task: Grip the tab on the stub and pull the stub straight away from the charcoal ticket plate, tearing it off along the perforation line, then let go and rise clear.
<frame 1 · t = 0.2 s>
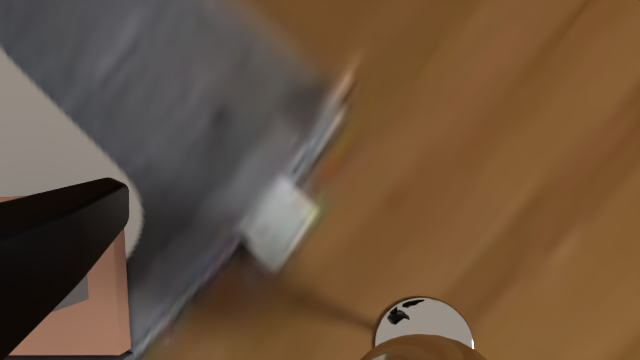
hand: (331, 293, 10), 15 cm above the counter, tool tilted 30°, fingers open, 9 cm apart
stub: (19, 280, 25), point 3 cm above the counter, slide at 0.0 cm
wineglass: (423, 344, 24), on the counter
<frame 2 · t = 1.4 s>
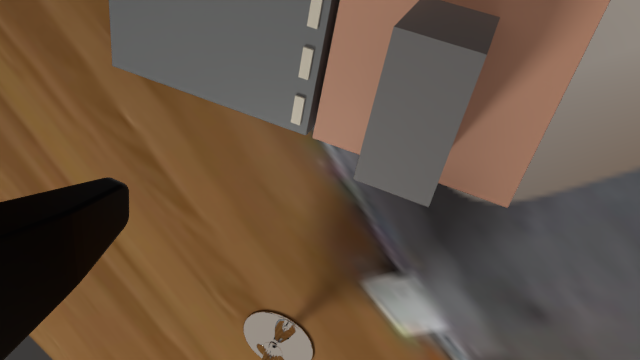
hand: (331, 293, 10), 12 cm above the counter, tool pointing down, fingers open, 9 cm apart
stub: (429, 93, 17), point 3 cm above the counter, slide at 0.0 cm
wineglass: (279, 337, 31), on the counter
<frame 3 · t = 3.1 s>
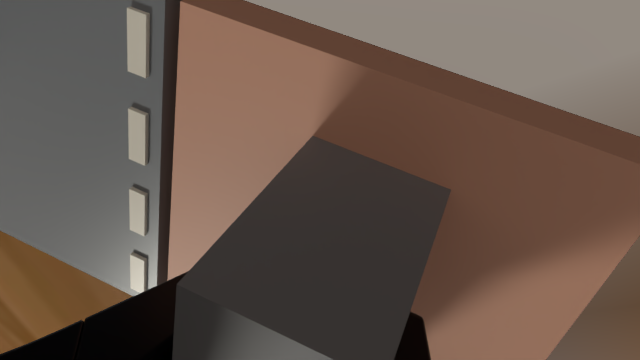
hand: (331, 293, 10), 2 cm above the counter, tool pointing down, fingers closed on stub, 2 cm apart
stub: (317, 319, 9), point 3 cm above the counter, slide at 0.0 cm, touching gripper
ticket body: (28, 89, 13), on the counter
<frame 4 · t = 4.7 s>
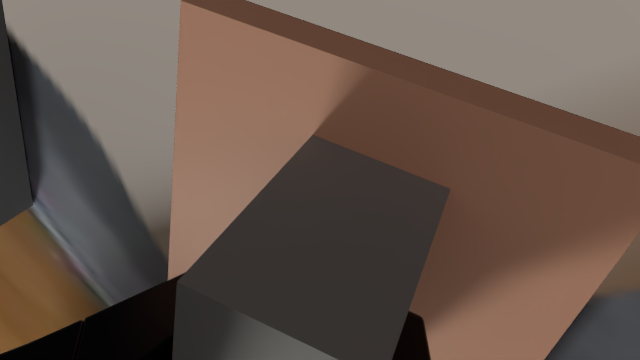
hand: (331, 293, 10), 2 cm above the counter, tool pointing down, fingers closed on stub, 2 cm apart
stub: (317, 317, 9), point 3 cm above the counter, slide at 5.2 cm, touching gripper
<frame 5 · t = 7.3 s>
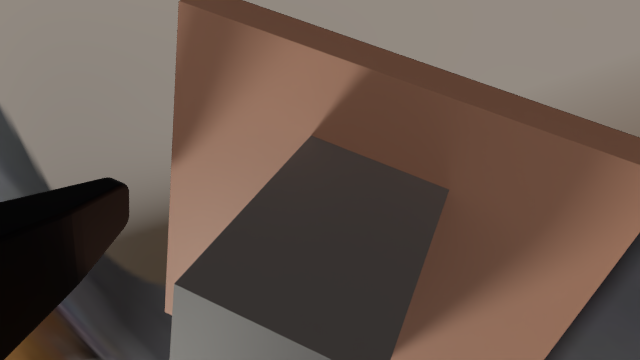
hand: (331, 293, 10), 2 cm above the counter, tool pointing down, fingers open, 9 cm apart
stub: (315, 318, 9), point 3 cm above the counter, slide at 8.4 cm
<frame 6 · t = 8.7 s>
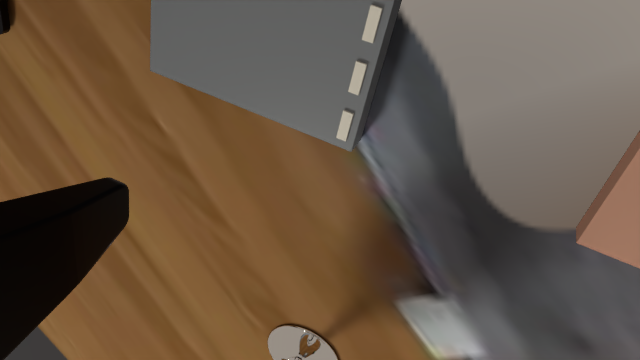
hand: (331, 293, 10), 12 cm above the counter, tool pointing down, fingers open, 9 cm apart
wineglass: (304, 352, 30), on the counter
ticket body: (274, 6, 20), on the counter
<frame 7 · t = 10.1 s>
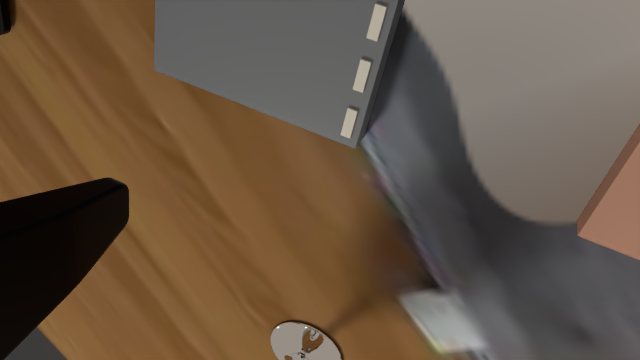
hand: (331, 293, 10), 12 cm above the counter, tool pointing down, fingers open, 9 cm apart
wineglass: (307, 348, 30), on the counter
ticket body: (277, 5, 20), on the counter
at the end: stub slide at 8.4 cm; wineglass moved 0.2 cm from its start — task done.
